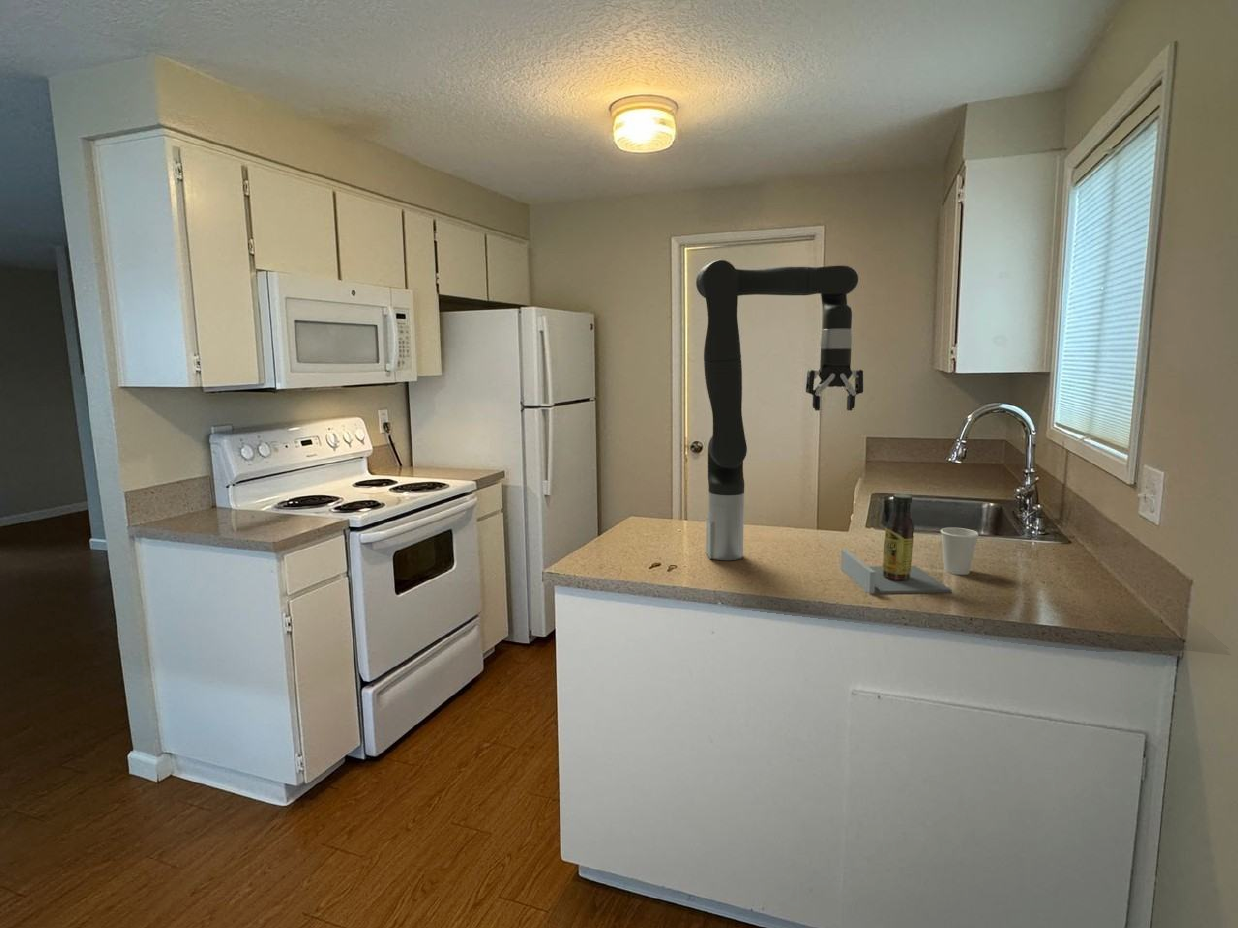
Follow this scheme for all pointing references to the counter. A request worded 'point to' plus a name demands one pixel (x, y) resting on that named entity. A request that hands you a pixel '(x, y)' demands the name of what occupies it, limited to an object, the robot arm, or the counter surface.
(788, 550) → the counter surface
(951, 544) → the dixie cup
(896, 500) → the sauce bottle
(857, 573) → the low wall
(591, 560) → the counter surface
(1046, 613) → the counter surface
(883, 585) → the slate mat
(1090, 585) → the counter surface
